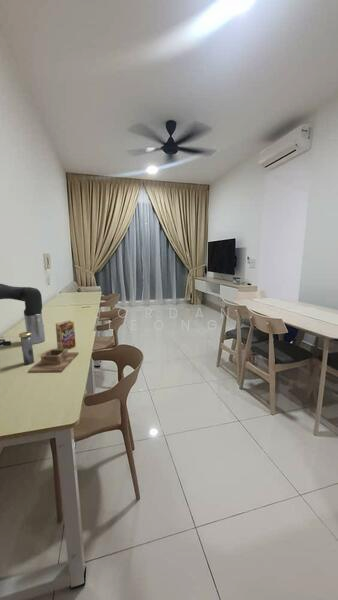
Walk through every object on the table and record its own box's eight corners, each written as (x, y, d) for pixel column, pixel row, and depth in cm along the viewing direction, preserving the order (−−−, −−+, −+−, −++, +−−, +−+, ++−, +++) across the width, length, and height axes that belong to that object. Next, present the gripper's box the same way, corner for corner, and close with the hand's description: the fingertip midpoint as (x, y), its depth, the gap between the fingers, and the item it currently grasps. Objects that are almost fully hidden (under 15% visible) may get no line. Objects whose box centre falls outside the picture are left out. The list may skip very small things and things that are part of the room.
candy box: (61, 351, 131) (59, 324, 128) (57, 350, 133) (54, 323, 130) (76, 346, 138) (74, 320, 135) (72, 345, 140) (69, 319, 138)
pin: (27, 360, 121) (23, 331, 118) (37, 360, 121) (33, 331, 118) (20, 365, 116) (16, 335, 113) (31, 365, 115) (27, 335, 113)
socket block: (50, 354, 128) (49, 345, 127) (78, 353, 128) (77, 344, 127) (28, 372, 108) (27, 361, 107) (61, 372, 108) (60, 361, 107)
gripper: (-43, 345, 109) (-7, 344, 109) (-19, 334, 123) (13, 334, 123) (-40, 360, 110) (-5, 360, 110) (-16, 348, 124) (15, 348, 124)
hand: (4, 346), depth 117 cm, fingers open, 8 cm apart
